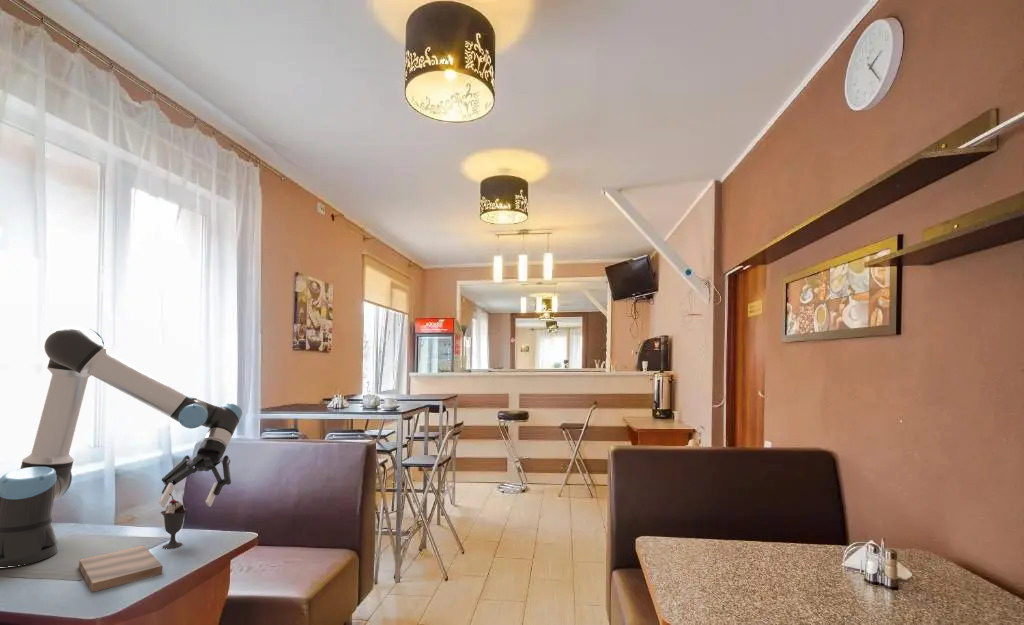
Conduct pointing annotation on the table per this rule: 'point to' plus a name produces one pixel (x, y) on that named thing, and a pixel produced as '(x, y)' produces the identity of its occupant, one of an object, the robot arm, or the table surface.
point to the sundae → (173, 521)
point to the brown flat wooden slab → (119, 567)
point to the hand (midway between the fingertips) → (184, 504)
